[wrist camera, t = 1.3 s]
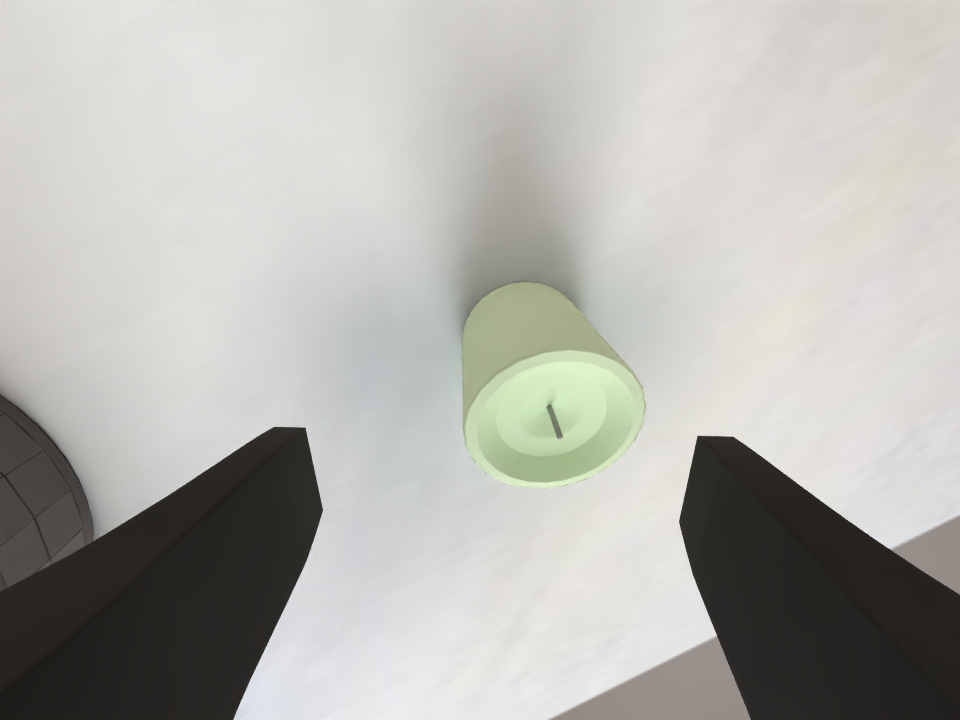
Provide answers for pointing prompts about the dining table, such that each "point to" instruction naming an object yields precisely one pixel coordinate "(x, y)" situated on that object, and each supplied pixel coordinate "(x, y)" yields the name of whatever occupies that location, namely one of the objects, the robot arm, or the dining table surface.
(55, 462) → the pan
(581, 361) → the candle
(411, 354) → the dining table surface
